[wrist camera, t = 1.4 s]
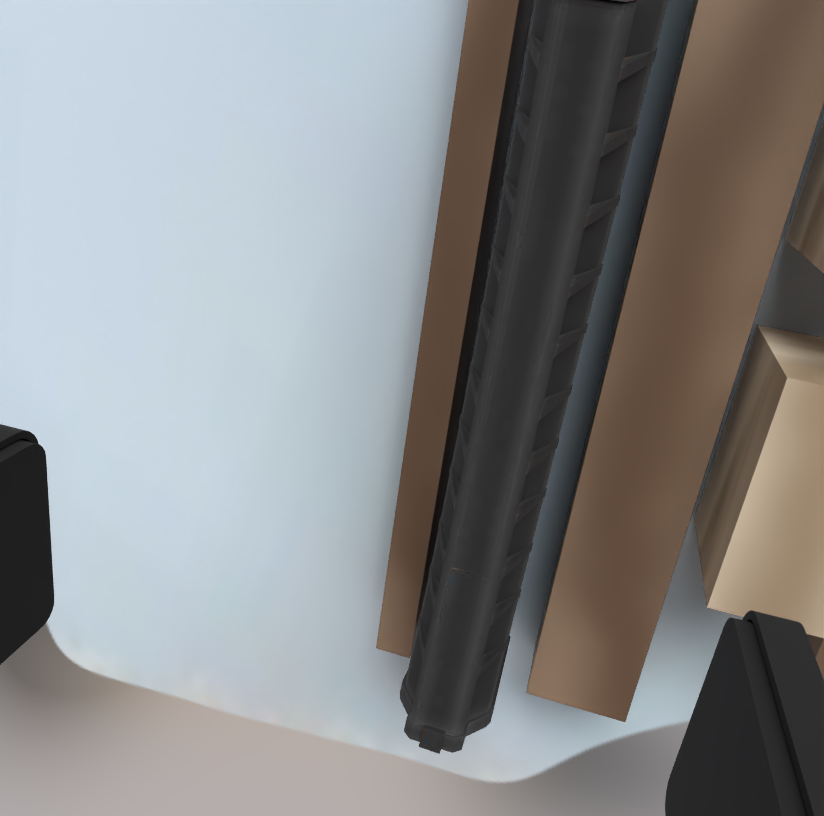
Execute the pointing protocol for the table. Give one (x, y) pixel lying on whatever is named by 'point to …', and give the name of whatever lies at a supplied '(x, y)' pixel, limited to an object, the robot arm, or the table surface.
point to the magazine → (527, 346)
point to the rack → (619, 327)
